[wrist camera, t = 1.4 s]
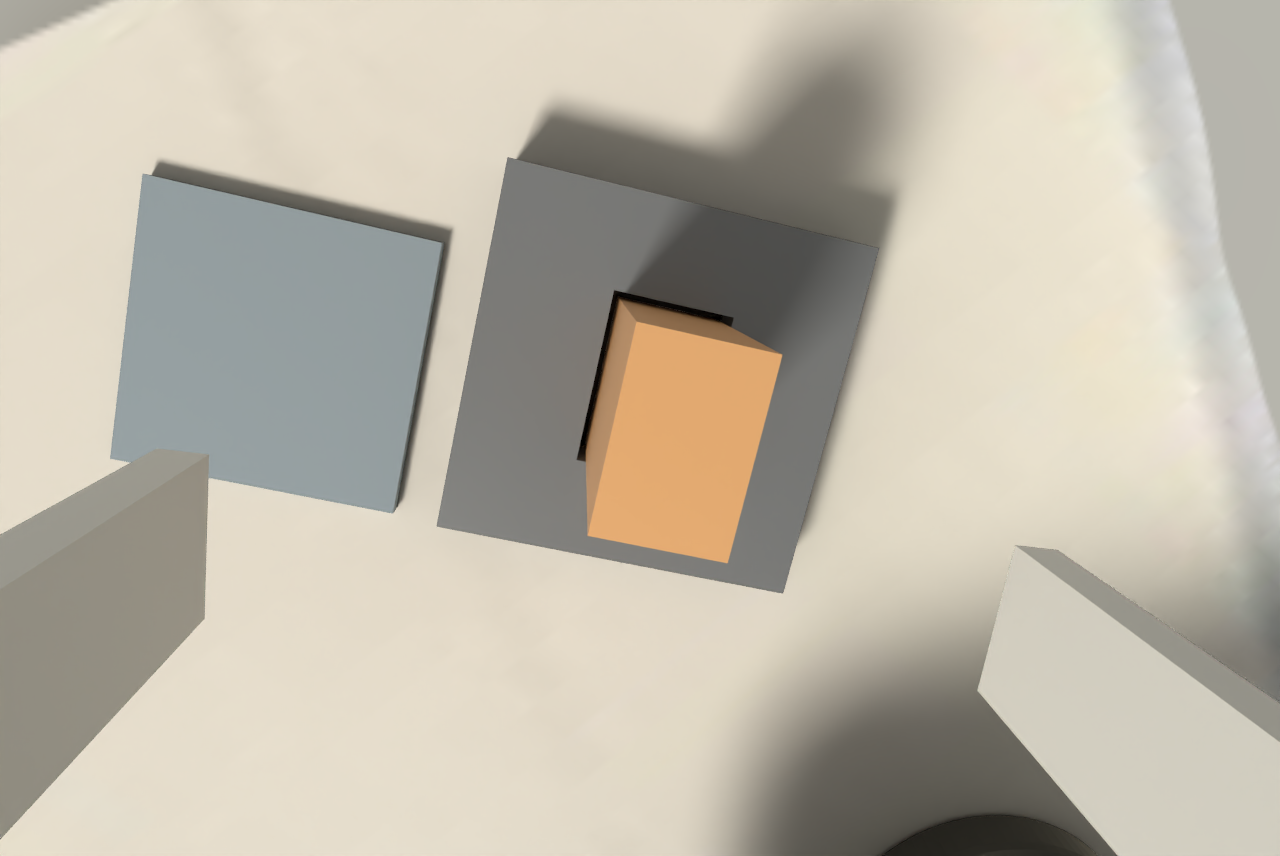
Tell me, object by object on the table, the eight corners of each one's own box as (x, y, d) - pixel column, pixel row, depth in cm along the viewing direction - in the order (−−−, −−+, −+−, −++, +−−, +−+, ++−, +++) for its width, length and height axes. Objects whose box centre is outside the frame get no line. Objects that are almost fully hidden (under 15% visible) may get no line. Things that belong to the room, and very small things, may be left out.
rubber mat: (444, 243, 33) (441, 242, 32) (395, 508, 35) (392, 513, 34) (150, 175, 32) (142, 173, 31) (118, 454, 34) (110, 458, 33)
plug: (713, 318, 34) (782, 354, 23) (679, 459, 36) (727, 563, 24) (617, 296, 34) (636, 321, 22) (585, 439, 35) (587, 535, 23)
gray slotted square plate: (857, 248, 34) (879, 248, 32) (769, 570, 37) (782, 593, 34) (513, 163, 33) (507, 157, 30) (446, 507, 35) (436, 526, 33)
